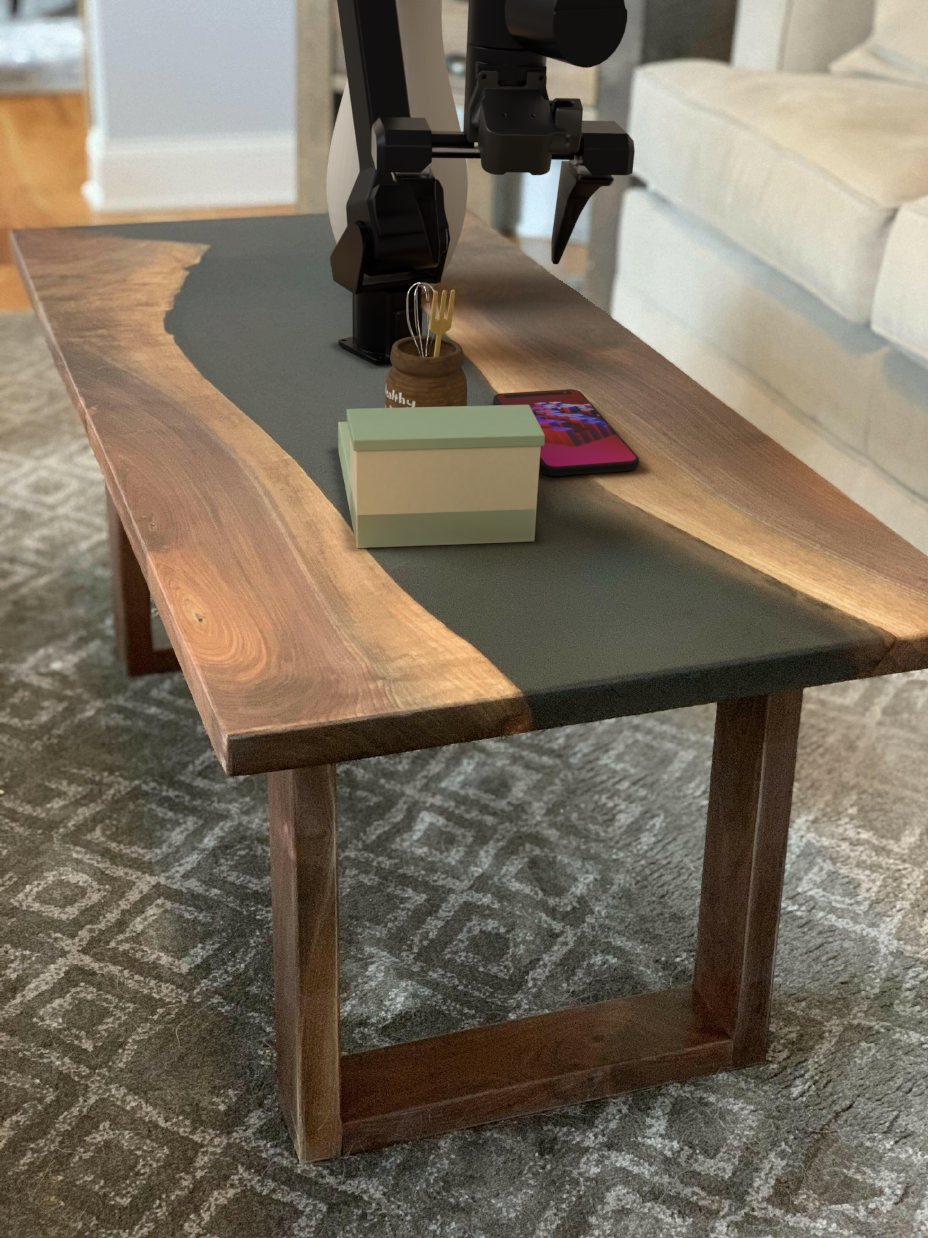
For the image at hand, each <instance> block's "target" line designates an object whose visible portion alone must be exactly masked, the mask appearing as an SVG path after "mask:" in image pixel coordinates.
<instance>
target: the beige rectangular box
mask: <svg viewBox="0 0 928 1238" xmlns="http://www.w3.org/2000/svg"><path fill="white" fill-rule="evenodd" d="M337 429H338V430H337V436H338V437H337V438H338V439H337V442H338V443H337V444H338V456H339V463H340V468H341V473H342V478H343V481H344V488H345V494H346V498H347V504H348V509H349V510H348V511H349V515H350V520H351V525H352V530H353V535H354V541H355V546H356V549H364V548H366V549H367V548H369V549H370V548H394V547H395V548H396V547H418V546H419V547H420V546H422V547H423V546H445V545H471V544H472V545H473V544H476V545H477V544H496V543H497V544H499V543H526V542H535V538H536V537H535V536H536V524H537V523H536V521H537V505H538V490H539V476H540V468H539V463H540V448H541V446H544V442H545V435H544V433H543V431H542V429H541V427H540V425H539V423H538V421H537V419H536V417H535V415H534V413H533V411H532V410H531V408H530V406H529V405H495V406H494V405H467V406H452V407H408V408H385V407H372V408H371V407H368V408H347V409H346V421H338V422H337Z"/></svg>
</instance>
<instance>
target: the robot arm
mask: <svg viewBox="0 0 928 1238" xmlns="http://www.w3.org/2000/svg"><path fill="white" fill-rule="evenodd" d="M336 3H337V11H338V18H339V27H340V33H341V42H342V48H343V56H344V61H345V64H344V65H345V71H346V79H347V78H348V86H349V93H350V100H351V108H352V115H353V123H354V130H355V137H356V145H357V152H358V159H359V169H360V171H359V174H358V176H357V179H356V181H355V184H354V186H353V189H352V191H351V194H350V196H349V198H348V201H347V204H346V215H347V227H346V229H345V231H344V233H343V234H342V236H341V238H340V240H339V241H338V243H336V245H335V247H334V248H333V250H332V252H331V254H330V257H329V261H330V262H329V263H330V269H331V274H332V275H331V276H332V280H333V282H335V283H336V284H338V285H339V286H341V287H343V288H344V289H345V290H347V291H348V292H350V293H352V294H351V295H352V297H351V298H352V302H351V303H352V310H351V311H352V313H351V315H352V316H351V317H352V319H351V320H352V336H349V337H348V336H347V337H343V338H339V339H338V341H337V343H338V346H339V347H341V348H342V349H344V350H346V351H349V352H351V353H353V354H355V355H357V356H358V357H360V358H363V359H364V360H365V361H369V362H370V363H372V364H374V365H383V364H389V363H391V360H390V355H391V350H392V346H393V344H394V343H395V342H396V341H398V340H400V339H403V338H407V337H412V336H413V335H414V336H423V321H424V320H423V318H424V317H423V315H424V308H423V306H422V304H423V303H422V301H423V300H422V297H423V294H422V288H421V287H419V285H423V284H424V283H428V284H432V283H433V284H436V285H438V284H441V282H442V278H443V276H442V274H443V270H444V265H445V261H446V257H447V252H448V248H449V243H450V233H449V224H448V221H447V218H446V213H445V207H444V190H443V187H442V185H441V183H440V181H439V180H438V179H435V176H434V174H433V172H432V170H431V167H430V165H429V164H431V162H432V158H466V159H472V160H473V159H475V160H478V159H480V165H481V168H482V170H483V171H484V172H486V173H487V174H490V175H495V176H504V175H506V173H515V174H516V173H519V174H520V173H523V174H525V173H527V174H530V175H532V176H543V175H546V174H548V173H549V172H550V171H551V165H552V161H553V160H554V161H561V163H560V171H559V179H558V187H557V193H556V203H555V210H554V216H553V224H552V225H553V226H552V233H551V241H550V242H551V245H550V247H551V248H550V249H551V250H550V253H551V254H550V259H551V263H552V264H553V265H559V264H560V262H561V260H562V257H563V255H564V252H565V250H566V248H567V246H568V243H569V240H570V239H571V237H572V234H573V232H574V229H575V227H576V224H577V222H578V220H579V218H580V216H581V214H582V212H583V211H584V209H585V208H586V205H587V203H588V202H589V200H590V198H591V197H592V196H594V194H595V193H596V192H597V191H598V190H599V189H600V188H602V187H610V186H612V185H613V184H614V181H615V177H614V176H629V175H633V173H634V163H635V162H634V161H635V151H636V149H635V140H634V139H633V138H632V137H631V136H630V134H629V133H628V132H627V131H625V129H623V127H621V125H619V124H618V122H617V121H615V120H583V115H584V108H583V104H582V100H581V99H580V98H579V97H577V98H576V97H575V98H574V97H566V98H565V97H555V98H554V99H553V100H550V97H549V92H548V89H547V80H548V76H547V69H548V67H547V62H548V61H547V59H548V58H549V59H552V60H554V61H558V62H562V63H564V64H568V65H571V66H575V67H579V68H583V69H584V68H585V69H588V68H593V67H596V66H599V65H601V64H602V63H604V62H606V61H607V60H608V59H609V58H611V56H612V55H613V54H615V52H616V51H617V49H618V47H619V46H620V44H621V42H622V40H623V38H624V35H625V33H626V28H627V23H628V13H629V12H628V9H627V8H626V3H625V0H468V3H467V7H468V8H467V31H466V33H467V34H466V50H465V51H466V54H465V78H464V79H465V80H464V101H463V103H464V104H463V130H461V131H431V129H430V127H429V125H428V123H427V121H426V119H425V118H411V114H410V106H409V99H408V91H407V83H406V75H405V67H404V59H403V51H402V43H401V35H400V27H399V19H398V12H397V4H396V0H336ZM475 143H477V145H475ZM443 275H444V274H443ZM422 282H423V284H422ZM416 283H421V284H419V285H418V284H416ZM414 284H416V285H414ZM413 285H414V286H413ZM412 286H413V287H412ZM417 286H418V290H416V288H417ZM411 287H412V288H411ZM410 288H411V289H410ZM409 290H410V291H409ZM415 291H416V294H417V298H416V295H415ZM408 292H409V295H408V297H407V294H408ZM407 298H408V309H407ZM417 311H418V320H417ZM415 315H416V323H415ZM408 316H409V320H408V321H407V317H408ZM408 323H410V325H409V326H408ZM418 324H419V329H418ZM410 326H411V329H409V327H410ZM416 326H417V330H416ZM410 330H412V332H410ZM419 331H420V335H419ZM417 332H418V335H417ZM411 333H413V334H412V335H411Z"/></svg>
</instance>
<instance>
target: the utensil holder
mask: <svg viewBox="0 0 928 1238" xmlns="http://www.w3.org/2000/svg"><path fill="white" fill-rule="evenodd" d="M416 284H418V285H419V284H421V283H416ZM416 284H414V285H416ZM422 284H423V282H422ZM424 284H425V286H426V284H427V285H428V286H430V287H431V290H432V292H433V295H432V302H431V307H430V304H426V317H427V318H426V320H427V324H426V325H427V326H426V327H427V328H426V335H422V336H414V335H413V336H412V337H407V338H403V339H400V340H398V341H396V342H395V343H394V344H393V346H392V350H391V355H390V360H391V362H390V363H391V365H392V366H391V367H390V368H389V369H388V372H387V374H386V377H385V378H386V379H385V387H384V389H385V391H384V408H408V407H452V406H468V381H467V376H466V373H465V371H464V369H463V368H462V367H463V365H464V362H465V356H464V350H463V349H464V348H463V346H462V344H460V343H459V342H457V341H455V340H453V339H450V338H447V337H443V334H445V333H447V332H448V331H450V330H451V329H452V323H453V315H454V306H455V299H456V298H455V297H456V290H455V289H451V290H450V294H449V301H448V308H447V313H446V314H447V315H446V317H445V312H446V303H447V294H448V292H447V290H446V289H444V290H442V292H441V297H440V306H439V305H438V304H439V303H438V300H439V299H438V298H439V291H438V290H435V287H432V286H431V285H430V284H428V283H424ZM424 284H423V286H424ZM414 285H413V286H414ZM413 286H412V287H413ZM425 286H424V288H425ZM412 287H411V288H412ZM411 288H410V289H411ZM426 288H427V286H426ZM416 290H418V286H417V288H416ZM409 291H410V290H409ZM427 291H428V289H427ZM425 292H426V289H425ZM408 295H409V292H408V294H407V297H408ZM415 295H416V298H417V294H416V291H415ZM425 297H426V298H425V299H426V300H428V299H430V293H429V291H428V292H426V293H425ZM430 308H431V309H430ZM407 309H408V298H407ZM408 320H409V316H408V317H407V321H408ZM417 320H418V311H417ZM415 323H416V315H415ZM409 325H410V323H408V326H409ZM409 329H411V326H410V327H409ZM418 329H419V324H418ZM416 330H417V326H416ZM410 332H412V330H410ZM430 332H431V333H433V335H429V334H430ZM412 334H413V333H411V335H412ZM435 334H436V335H435ZM417 335H418V332H417ZM419 335H420V331H419Z"/></svg>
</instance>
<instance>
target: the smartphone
mask: <svg viewBox="0 0 928 1238" xmlns="http://www.w3.org/2000/svg"><path fill="white" fill-rule="evenodd" d="M492 399H493V400H492V403H493V404H492V406H495V405H529V406H530V408H531V410H532V411H533V413H534V415H535V417H536V419H537V421H538V423H539V425H540V427H541V429H542V431H543V433H544V435H545V442H544V446H541V448H540V463H539V470H540V471H541V472H542V473H543V474H544V475H547V476H550V477H561V476H573V475H574V476H575V475H586V474H587V475H588V474H600V473H601V474H602V473H613V472H627V471H628V472H629V471H635V470H636V469H638V468H639V465H640V464H639V463H640V458H639V456H638V455H637V454H636V453H635V452H634V450H633V449H632V448H631V447H630V446H629V445H628V443H626V442H625V440H624V439H623V438H622V437H621V435H620V434H619V433H618V432H617V431H616V430H615V429H614V427H612V426H611V424H610V423H609V421H607V419H605V417H604V416H603V415H602V414H601V413H600V412H599V411H598V410H597V408H596V407H595V406H594V405H593V404H592V403H591V401H589V399H588V398H587V397H586V396H585V394H583V393H582V392H581V391H580V390H578V389H573V388H567V389H549V390H533V391H532V390H531V391H519V392H518V391H517V392H503V393H496V394H495V395H494V396H493V398H492Z"/></svg>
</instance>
